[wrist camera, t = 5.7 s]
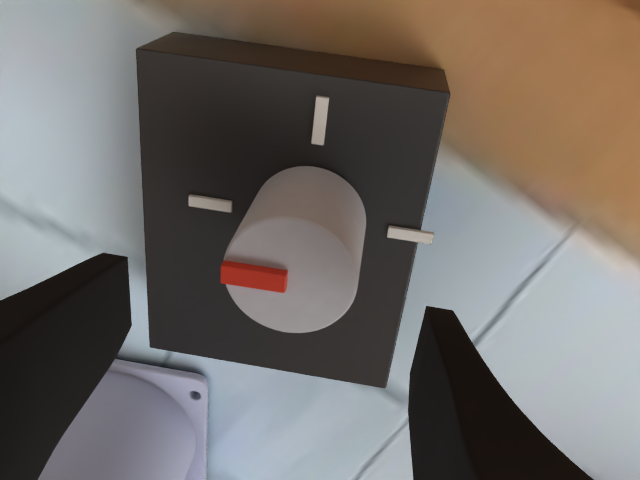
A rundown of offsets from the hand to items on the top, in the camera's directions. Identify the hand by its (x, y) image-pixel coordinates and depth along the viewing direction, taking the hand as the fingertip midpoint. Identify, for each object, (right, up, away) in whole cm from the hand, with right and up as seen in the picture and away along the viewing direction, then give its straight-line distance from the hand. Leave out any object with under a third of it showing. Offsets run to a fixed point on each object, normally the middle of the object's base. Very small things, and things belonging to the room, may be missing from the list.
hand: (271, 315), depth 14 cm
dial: (+1, +3, +5) cm, 5 cm away
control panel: (0, +3, +8) cm, 8 cm away
